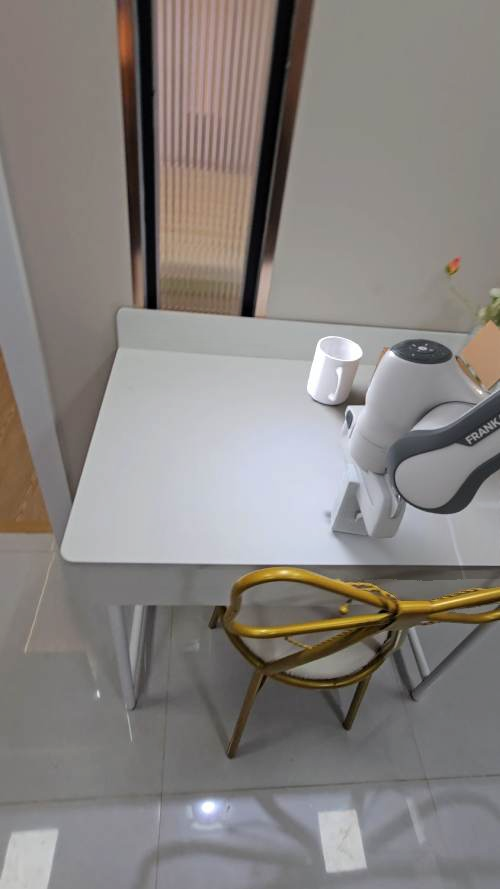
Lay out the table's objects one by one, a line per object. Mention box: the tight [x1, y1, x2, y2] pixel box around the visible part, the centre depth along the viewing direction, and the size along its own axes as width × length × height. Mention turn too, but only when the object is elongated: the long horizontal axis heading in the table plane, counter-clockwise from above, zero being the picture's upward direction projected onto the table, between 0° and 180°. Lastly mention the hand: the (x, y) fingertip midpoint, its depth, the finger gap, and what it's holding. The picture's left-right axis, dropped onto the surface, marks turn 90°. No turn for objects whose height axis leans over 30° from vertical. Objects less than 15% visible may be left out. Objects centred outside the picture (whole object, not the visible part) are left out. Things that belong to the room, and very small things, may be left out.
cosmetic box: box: [330, 464, 368, 537], centre depth 75 cm, size 6×4×12 cm
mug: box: [306, 335, 363, 406], centre depth 101 cm, size 10×12×12 cm
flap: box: [459, 319, 500, 392], centre depth 91 cm, size 8×13×1 cm
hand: (354, 506), depth 77 cm, fingers closed on cosmetic box, 4 cm apart
